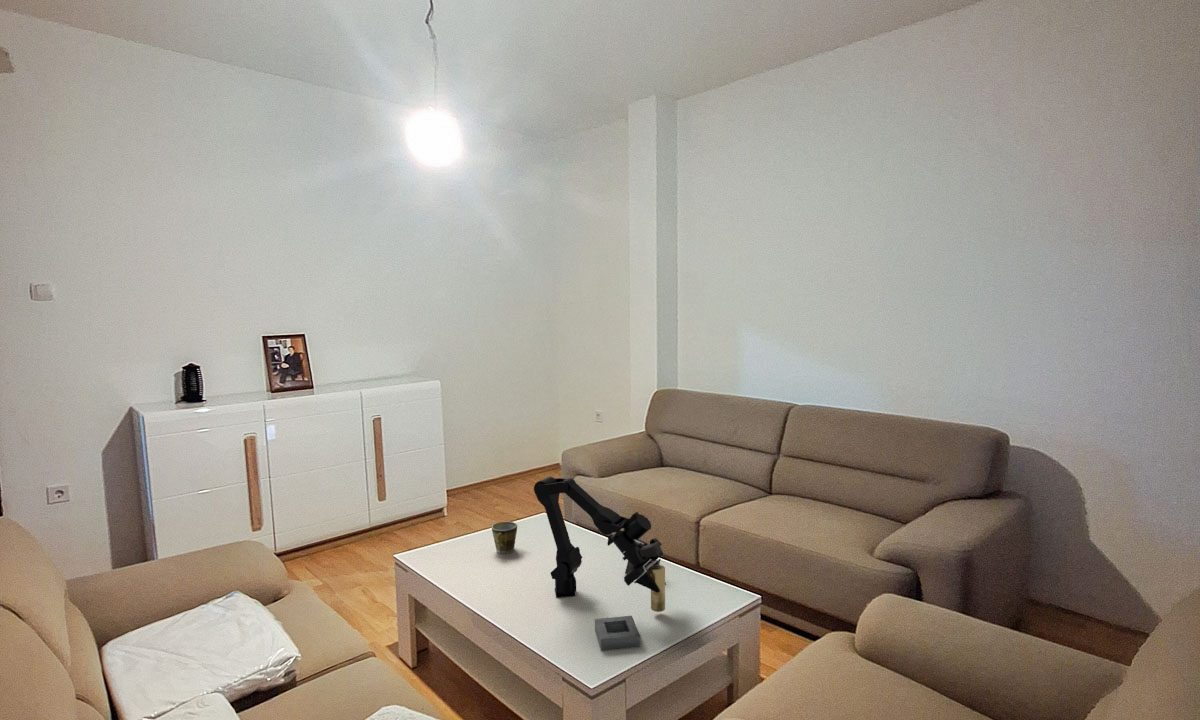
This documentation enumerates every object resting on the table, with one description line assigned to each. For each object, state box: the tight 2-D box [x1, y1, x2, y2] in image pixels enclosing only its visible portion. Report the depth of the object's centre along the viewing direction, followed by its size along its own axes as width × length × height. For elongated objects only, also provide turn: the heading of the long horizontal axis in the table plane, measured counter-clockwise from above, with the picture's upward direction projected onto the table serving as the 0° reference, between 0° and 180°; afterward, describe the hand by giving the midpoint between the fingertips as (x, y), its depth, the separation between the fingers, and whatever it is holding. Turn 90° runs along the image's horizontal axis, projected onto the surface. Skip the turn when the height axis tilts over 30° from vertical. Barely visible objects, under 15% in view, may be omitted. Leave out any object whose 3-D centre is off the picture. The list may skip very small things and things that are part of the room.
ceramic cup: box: [491, 520, 518, 555], centre depth 243 cm, size 13×10×10 cm
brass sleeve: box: [650, 564, 666, 613], centre depth 192 cm, size 4×4×13 cm
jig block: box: [594, 615, 641, 652], centre depth 180 cm, size 11×11×4 cm
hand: (662, 588), depth 191 cm, fingers closed on brass sleeve, 4 cm apart
